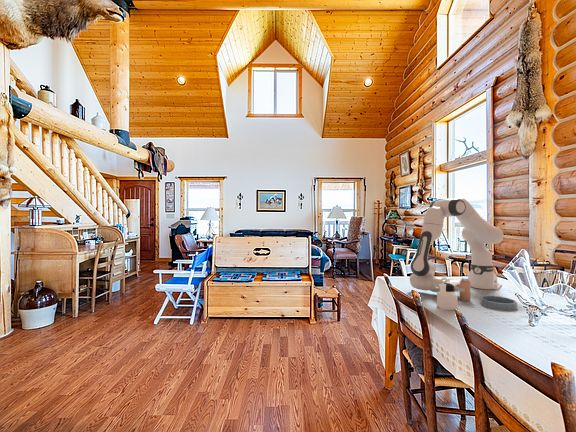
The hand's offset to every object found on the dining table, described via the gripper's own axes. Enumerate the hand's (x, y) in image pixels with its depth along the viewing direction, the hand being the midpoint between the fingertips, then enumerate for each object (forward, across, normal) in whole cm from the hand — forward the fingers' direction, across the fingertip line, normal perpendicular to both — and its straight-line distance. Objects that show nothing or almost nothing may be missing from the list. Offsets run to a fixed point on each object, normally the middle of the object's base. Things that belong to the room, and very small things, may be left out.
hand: (466, 289), depth 164 cm
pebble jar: (-1, 0, +6) cm, 6 cm away
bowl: (+14, 0, +6) cm, 15 cm away
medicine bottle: (-4, -22, +6) cm, 23 cm away
